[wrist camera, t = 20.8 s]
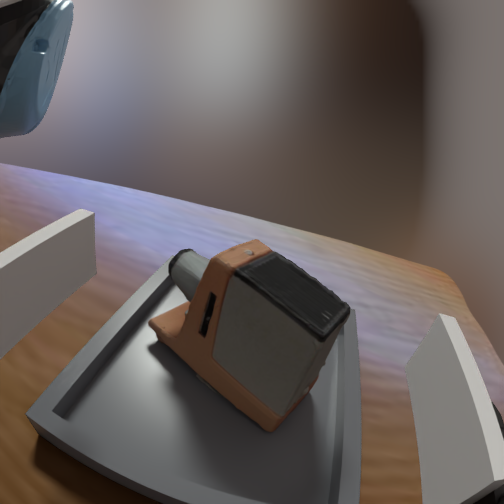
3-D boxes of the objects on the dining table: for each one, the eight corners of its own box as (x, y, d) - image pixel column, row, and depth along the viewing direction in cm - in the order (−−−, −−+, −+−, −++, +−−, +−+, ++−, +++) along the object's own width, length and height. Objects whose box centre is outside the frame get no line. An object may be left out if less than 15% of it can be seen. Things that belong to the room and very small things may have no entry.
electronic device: (196, 308, 21) (212, 206, 18) (313, 390, 17) (368, 287, 13) (145, 335, 18) (149, 222, 14) (272, 439, 13) (329, 335, 10)
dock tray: (38, 434, 10) (25, 414, 9) (170, 276, 25) (172, 255, 24) (335, 541, 9) (356, 534, 8) (345, 329, 24) (355, 309, 23)
